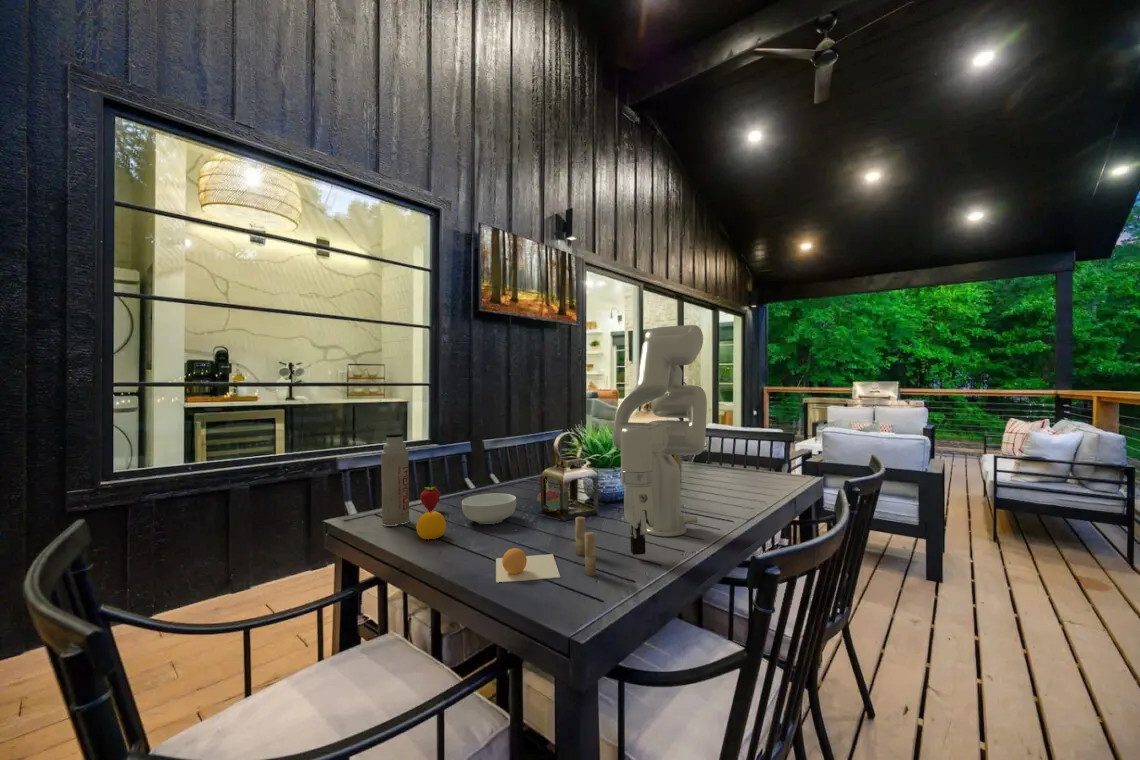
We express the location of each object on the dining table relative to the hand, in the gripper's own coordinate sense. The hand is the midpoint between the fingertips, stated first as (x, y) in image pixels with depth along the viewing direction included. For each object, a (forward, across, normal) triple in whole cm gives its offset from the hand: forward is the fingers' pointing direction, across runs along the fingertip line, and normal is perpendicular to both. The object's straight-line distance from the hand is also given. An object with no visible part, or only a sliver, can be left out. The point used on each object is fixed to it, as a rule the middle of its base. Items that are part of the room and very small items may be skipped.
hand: (638, 553), depth 114 cm
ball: (-1, -2, +30) cm, 30 cm away
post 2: (+2, -6, +13) cm, 14 cm away
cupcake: (+2, +48, +16) cm, 51 cm away
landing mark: (+2, 0, +27) cm, 27 cm away
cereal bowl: (+2, +40, +36) cm, 54 cm away
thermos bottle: (+2, +44, +65) cm, 79 cm away
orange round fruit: (+2, +27, +52) cm, 59 cm away
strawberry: (+2, +55, +56) cm, 79 cm away
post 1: (+2, +6, +13) cm, 14 cm away
